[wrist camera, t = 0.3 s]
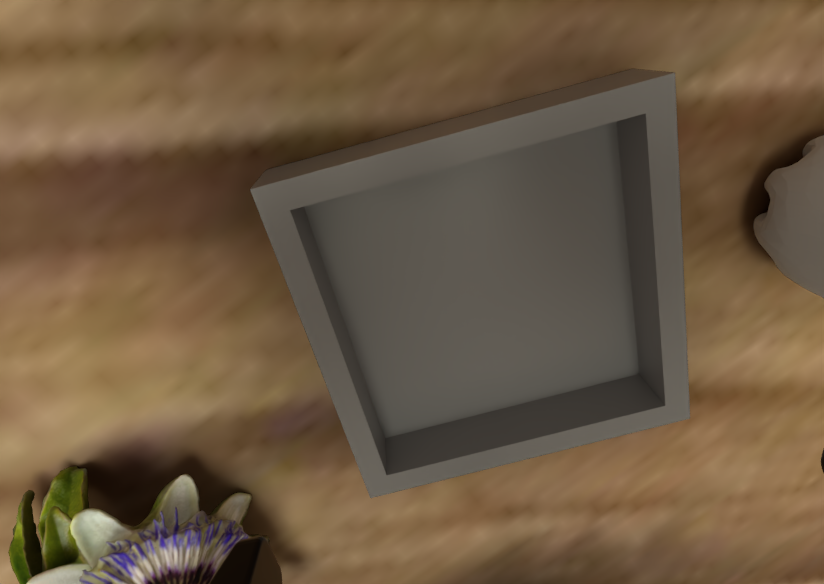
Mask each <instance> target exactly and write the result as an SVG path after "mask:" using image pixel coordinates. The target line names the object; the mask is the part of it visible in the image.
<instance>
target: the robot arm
mask: <svg viewBox="0 0 824 584" xmlns="http://www.w3.org/2000/svg"><path fill="white" fill-rule="evenodd" d="M821 466H822V470H823V472H824V450H823V453H822V457H821ZM209 584H282V574H281V569H280V566H279V564H278V562H277V560H276V558H275V556H274V553H273V551H272V549H271V547H270V545H269V543H268V541H267V540H266V538H264V537H263V536H258V537H252V538H247V539H243V540H240V541H238V542H237V543H236V544H235V545H234V547H233V548H232V550H231V551H230V553H229V554H228V556H227V557H226V559H225V560H224V562H223V563H222V565H221V566H220V568H219V569H218V571H217V572H216V574H215V575H214V577H213V578H212V580H211V581H210V583H209Z"/></svg>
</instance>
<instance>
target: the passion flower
mask: <svg viewBox="0 0 824 584" xmlns="http://www.w3.org/2000/svg"><path fill="white" fill-rule="evenodd" d="M34 495H35V494H34V492H33V491H32V490H28V491H27V492H25V494H24V495H23V498H22V501H21V503H20V505H19V508H18V515H17V523H16V525H15V527H14V529H13V535H14V537H13V540H12V542H11V545H10V549H9V552H8V553H9V556H10V562H11V566H12V569H13V571H14V573H15V574H16V577H17V579H18V581H19V583H20V584H209V583H210V581H211V580H212V578H213V577H214V575H215V574H216V572H217V571H218V569H219V568H220V566H221V565H222V563H223V562H224V560H225V559H226V557H227V556H228V554H229V553H230V551H231V550H232V548H233V547H234V545H235V544H236V543H237V542H238V541H240V540H243V539H247V538H252V537H258V536H261V535H259V534H256V535H248V534H246V533H245V532H244V531H243V527H242V523H243V520H244V518H245V516H246V515H247V512H248V509H249V504H250V501H251V499H252V497H251V495H250V494H246V493H235V494H233V495H231V496H230V497H228V498H226V499H225V500H223V501H222V502H221V503H220V504H219V505H218V506H217V507H216V508H215V509H214V510H213V511H212V513H211V514H210V515H206V513H205V512H204V511H200V510H199V500H200V498H199V490H198V487H197V486H196V484H195V482H194V479H193V478H192V477H191V476H190V475H189V474H183V475H180V476H179V477H176V478H175V479H174V480H173V481H171V482H170V483H168V484H167V485H166V486H165V487H164V488H163V489H162V490H161V492H160V493H159V494H158V496H157V499H156V501H155V503H154V505H153V507H152V509H151V512H150V514H149V515H148V516H147V517H146V518H145V520H144V521H143V522H141V523H140V524H139V525H137V526H133V527H132V526H130V525H127V524H122V523H121V522H120V521H119V519H117V518H115V517H113V516H111V515H110V514H108V513H107V512H105V511H103V510H100V509H96V508H90V509H89V502H88V478H87V470H86V469H85V468H84V469H78V467H77V466H74V467H68V468H66V469H64V470H62V471H60V473H59V474H58V475H57V476H56V477H55V478H54V479H53V480H52V482H51V486H50V488H49V490H48V493H47V495H46V496H45V497H44V499H43V503H42V510H41V513H40V517H39V524H38V532H39V535H40V538H41V542H42V548H41V546H40V542H39V539H38V537H37V534H36V524H35V523H34V520H33V514H32V513H33V510H32V506H31V504H32V501H33V499H34ZM263 537H264V538H266V540H267V541H268V543H269V537H268V536H263Z"/></svg>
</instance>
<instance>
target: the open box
mask: <svg viewBox="0 0 824 584" xmlns="http://www.w3.org/2000/svg"><path fill="white" fill-rule="evenodd" d="M250 191H251V193H252V196H253V198H254V201H255V204H256V206H257V209H258V211H259V214H260V216H261V219H262V221H263V224H264V227H265V229H266V232H267V234H268V237H269V239H270V242H271V245H272V247H273V250H274V252H275V255H276V257H277V260H278V262H279V265H280V268H281V270H282V273H283V275H284V278H285V280H286V283H287V286H288V288H289V291H290V293H291V296H292V298H293V301H294V303H295V306H296V309H297V311H298V314H299V316H300V319H301V321H302V324H303V326H304V329H305V332H306V334H307V337H308V339H309V342H310V344H311V347H312V350H313V352H314V355H315V357H316V360H317V362H318V365H319V367H320V370H321V373H322V375H323V378H324V380H325V383H326V385H327V388H328V391H329V393H330V396H331V398H332V401H333V403H334V406H335V408H336V411H337V414H338V416H339V419H340V421H341V424H342V426H343V429H344V431H345V434H346V437H347V439H348V442H349V444H350V447H351V449H352V452H353V455H354V457H355V460H356V462H357V465H358V467H359V470H360V472H361V475H362V478H363V480H364V483H365V485H366V488H367V490H368V493H369V495H370V498H373V497H377V496H381V495H385V494H389V493H393V492H397V491H401V490H405V489H409V488H413V487H417V486H421V485H425V484H429V483H433V482H437V481H441V480H445V479H449V478H453V477H457V476H461V475H465V474H469V473H473V472H477V471H481V470H485V469H489V468H493V467H497V466H501V465H505V464H510V463H514V462H518V461H522V460H526V459H530V458H534V457H538V456H542V455H546V454H550V453H554V452H558V451H562V450H566V449H570V448H574V447H578V446H582V445H586V444H590V443H594V442H598V441H602V440H606V439H610V438H614V437H618V436H622V435H626V434H630V433H634V432H638V431H642V430H646V429H650V428H654V427H658V426H662V425H666V424H670V423H674V422H678V421H682V420H686V419H690V406H689V383H688V360H687V337H686V315H685V292H684V269H683V246H682V223H681V201H680V178H679V155H678V132H677V109H676V86H675V73H673V72H662V71H652V70H641V69H630V70H626V71H623V72H619V73H616V74H612V75H608V76H605V77H601V78H597V79H594V80H590V81H587V82H583V83H579V84H576V85H572V86H568V87H565V88H561V89H558V90H554V91H550V92H547V93H543V94H539V95H536V96H532V97H529V98H525V99H521V100H518V101H514V102H510V103H507V104H503V105H500V106H496V107H492V108H489V109H485V110H482V111H478V112H474V113H471V114H467V115H463V116H460V117H456V118H453V119H449V120H445V121H442V122H438V123H434V124H431V125H427V126H424V127H420V128H416V129H413V130H409V131H405V132H402V133H398V134H395V135H391V136H387V137H384V138H380V139H376V140H373V141H369V142H366V143H362V144H358V145H355V146H351V147H347V148H344V149H340V150H337V151H333V152H329V153H326V154H322V155H318V156H315V157H311V158H308V159H304V160H300V161H297V162H293V163H289V164H286V165H282V166H279V167H275V168H271V169H268V170H265V172H264V173H263V174H262V175H261V177H260V178H259V179H258V180H257V181H256V183H255V184H254V185H253V186H252V188H251V189H250Z"/></svg>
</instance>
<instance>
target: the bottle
mask: <svg viewBox="0 0 824 584" xmlns="http://www.w3.org/2000/svg"><path fill="white" fill-rule="evenodd" d="M764 188H765V189H766V190H767V192H768V193H769V196H770V204H769V208H768V212H767V213H763V214H760V215H759V216H757V217H756V218H755V220H754V226H753V228H754V232H755V236H756V238H757V240H758V242H759V243H760V244H761V246H762V247H763V248H764V249H765V250H766V252H767V253H768V254H769V255H770V257H771V258H772V259H773V261H774V262H775V264H776V266H777V268H778V269H779V270H780V271H781V272H782V273H783V274H784V275H785V276H786V277H788V278H789V279H791V280H792V281H794V282H795V283H797V284H799V285H800V286H802V287H804V288H805V289H807V290H809V291H811V292H813V293H815V294H817V295H819V296H821V297H823V298H824V135H823V136H820V137H817V138H815V139H813V140H811V141H809V142H808V143H807V144H806V146H805V147H804V149H803V158H802V159H801V160H800V161H798V162H797V163H795V164H793V165H790V166H788V167H784V168H779V169H776V170H774V171H773V172H772V173H771V174H770V175H769V176H768V178H767V180H766V181H765V183H764Z"/></svg>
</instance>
